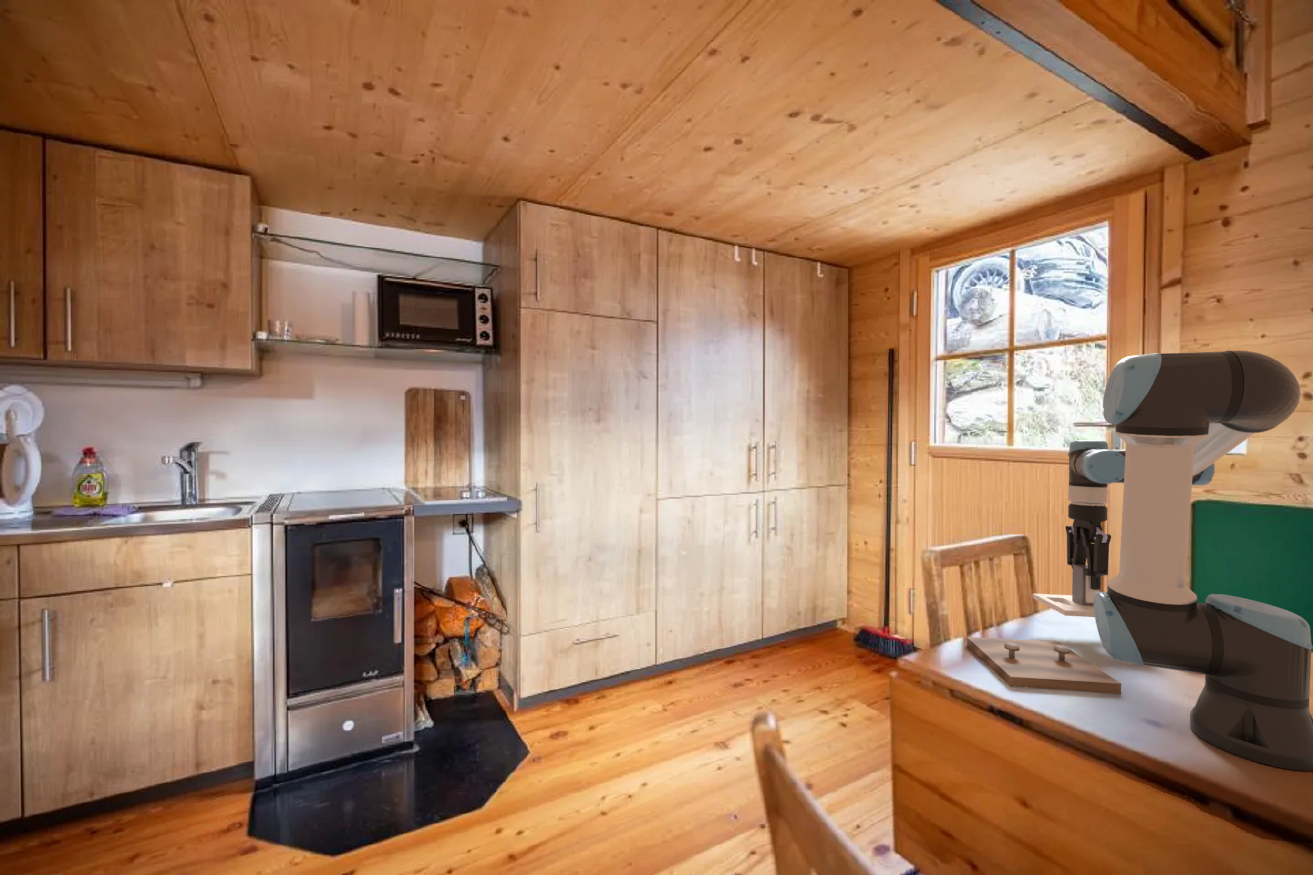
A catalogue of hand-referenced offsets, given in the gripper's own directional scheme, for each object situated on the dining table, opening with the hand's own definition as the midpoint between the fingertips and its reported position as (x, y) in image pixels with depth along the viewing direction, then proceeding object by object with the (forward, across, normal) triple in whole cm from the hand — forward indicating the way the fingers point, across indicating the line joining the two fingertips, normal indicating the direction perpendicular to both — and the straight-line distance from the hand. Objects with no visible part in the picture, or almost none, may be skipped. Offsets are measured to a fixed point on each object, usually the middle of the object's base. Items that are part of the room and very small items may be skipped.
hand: (1086, 599), depth 134 cm
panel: (+2, 0, 0) cm, 2 cm away
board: (+11, -17, +20) cm, 28 cm away
